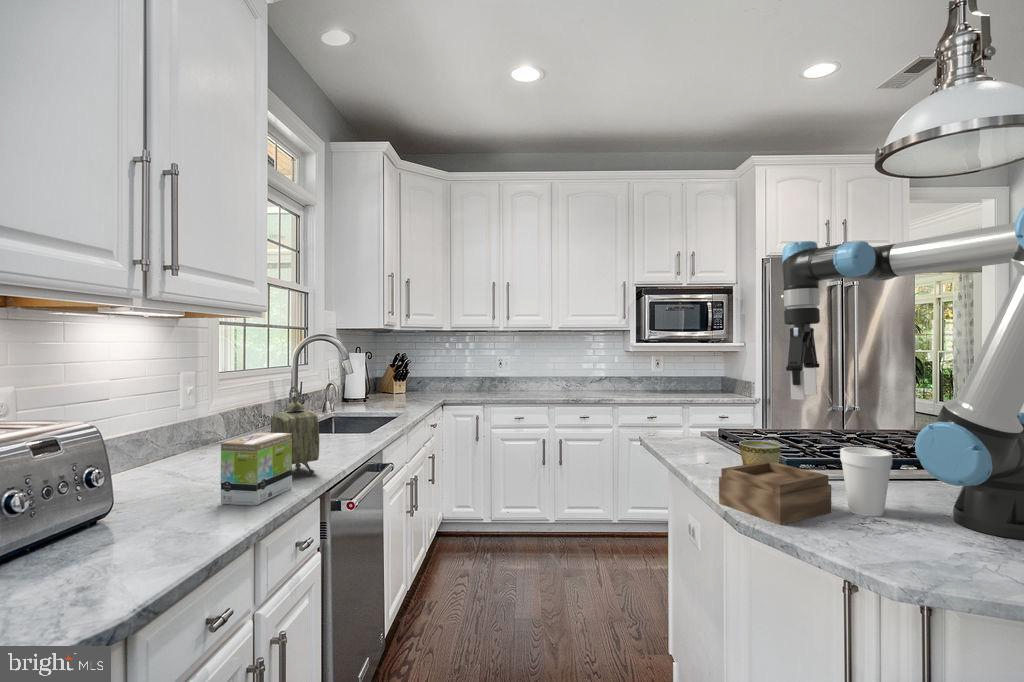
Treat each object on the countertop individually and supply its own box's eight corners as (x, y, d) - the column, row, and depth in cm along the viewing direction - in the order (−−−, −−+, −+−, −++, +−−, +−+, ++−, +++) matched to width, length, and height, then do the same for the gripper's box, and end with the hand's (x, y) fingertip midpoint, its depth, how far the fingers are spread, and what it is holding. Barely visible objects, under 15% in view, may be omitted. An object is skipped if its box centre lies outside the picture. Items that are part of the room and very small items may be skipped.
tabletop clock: (320, 475, 157) (318, 387, 156) (287, 481, 151) (285, 389, 151) (301, 466, 168) (300, 383, 167) (270, 471, 162) (268, 386, 162)
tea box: (258, 506, 130) (257, 443, 130) (219, 505, 131) (218, 442, 131) (293, 488, 145) (292, 431, 144) (258, 487, 146) (257, 431, 146)
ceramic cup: (768, 490, 137) (768, 449, 137) (731, 481, 145) (731, 443, 145) (795, 481, 145) (795, 442, 144) (758, 473, 153) (758, 437, 152)
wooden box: (831, 512, 120) (831, 475, 120) (780, 524, 113) (780, 485, 113) (768, 493, 134) (767, 460, 134) (719, 503, 127) (718, 468, 127)
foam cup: (830, 508, 122) (830, 449, 122) (857, 502, 126) (857, 445, 126) (874, 521, 114) (874, 458, 114) (902, 514, 118) (902, 453, 117)
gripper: (796, 310, 145) (798, 391, 145) (770, 306, 126) (773, 401, 126) (828, 308, 141) (831, 392, 140) (807, 304, 121) (810, 402, 121)
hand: (804, 396), depth 133 cm, fingers open, 13 cm apart
